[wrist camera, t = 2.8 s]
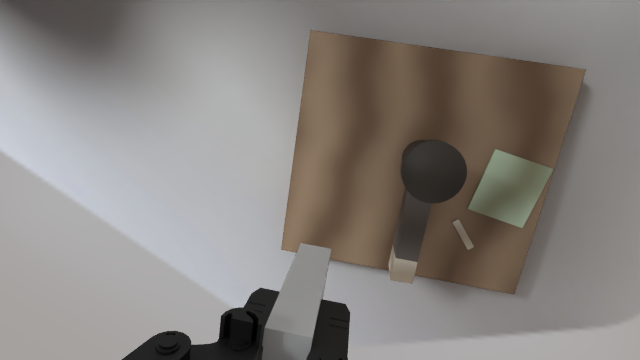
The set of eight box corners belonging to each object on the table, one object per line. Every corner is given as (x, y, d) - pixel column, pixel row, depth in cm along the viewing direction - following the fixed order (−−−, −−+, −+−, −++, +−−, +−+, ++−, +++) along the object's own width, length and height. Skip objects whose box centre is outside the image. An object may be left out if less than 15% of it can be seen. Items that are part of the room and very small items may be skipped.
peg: (400, 129, 30) (409, 137, 25) (452, 137, 30) (474, 147, 24) (373, 257, 33) (376, 292, 28) (421, 266, 33) (433, 303, 27)
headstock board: (285, 241, 37) (280, 250, 34) (313, 34, 32) (310, 29, 30) (505, 283, 35) (514, 295, 33) (571, 71, 30) (587, 69, 28)
